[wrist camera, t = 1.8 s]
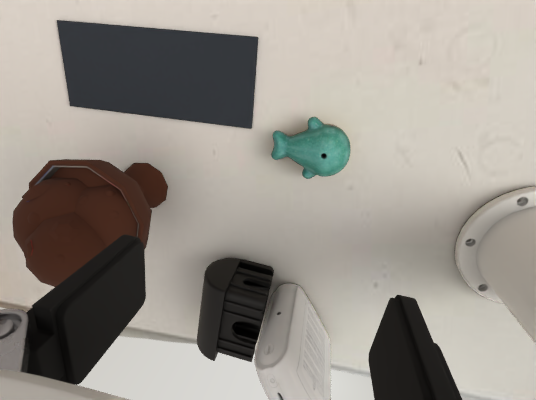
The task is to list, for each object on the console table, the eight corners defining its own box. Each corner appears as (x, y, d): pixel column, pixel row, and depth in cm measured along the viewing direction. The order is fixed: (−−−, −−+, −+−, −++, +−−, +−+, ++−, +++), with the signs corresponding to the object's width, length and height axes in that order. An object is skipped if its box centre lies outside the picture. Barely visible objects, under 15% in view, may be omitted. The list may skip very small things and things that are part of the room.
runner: (258, 37, 27) (257, 37, 26) (251, 128, 30) (251, 128, 30) (59, 20, 29) (56, 20, 29) (72, 105, 32) (70, 105, 32)
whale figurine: (342, 179, 30) (344, 192, 27) (271, 169, 31) (264, 180, 28) (354, 119, 28) (358, 125, 24) (276, 111, 29) (269, 115, 25)
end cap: (218, 249, 36) (195, 284, 30) (275, 264, 35) (264, 303, 29) (209, 311, 40) (188, 354, 34) (261, 326, 39) (248, 372, 33)
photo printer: (267, 287, 37) (240, 380, 25) (298, 277, 35) (285, 370, 24) (304, 348, 39) (294, 457, 28) (335, 341, 38) (338, 452, 27)
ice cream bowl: (197, 155, 32) (99, 211, 18) (180, 240, 36) (92, 337, 23) (106, 124, 33) (-55, 156, 19) (100, 212, 37) (-32, 289, 23)
